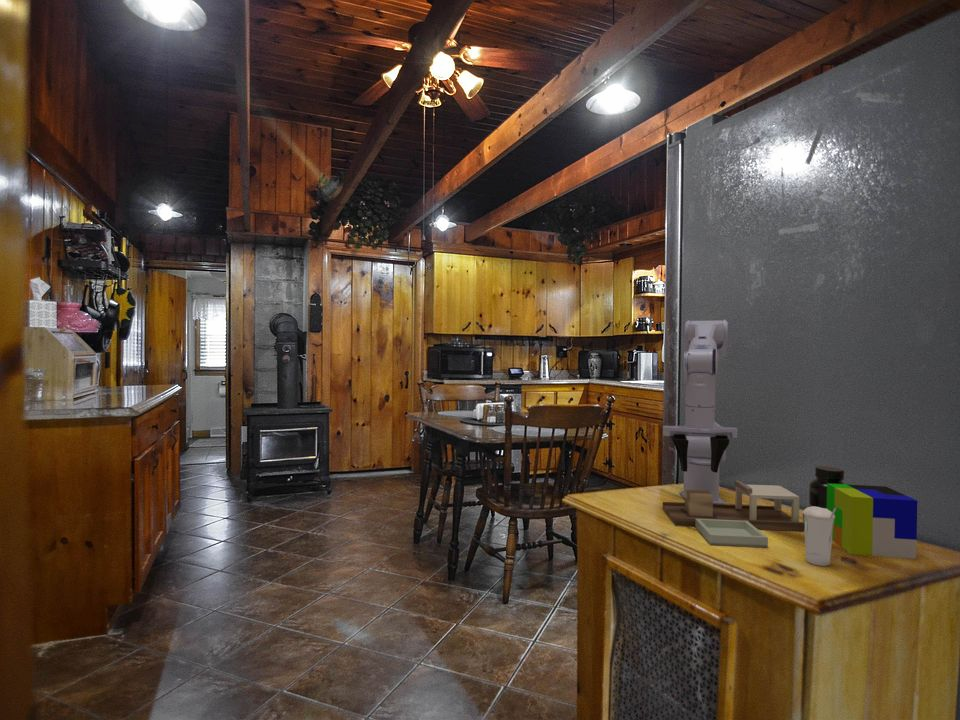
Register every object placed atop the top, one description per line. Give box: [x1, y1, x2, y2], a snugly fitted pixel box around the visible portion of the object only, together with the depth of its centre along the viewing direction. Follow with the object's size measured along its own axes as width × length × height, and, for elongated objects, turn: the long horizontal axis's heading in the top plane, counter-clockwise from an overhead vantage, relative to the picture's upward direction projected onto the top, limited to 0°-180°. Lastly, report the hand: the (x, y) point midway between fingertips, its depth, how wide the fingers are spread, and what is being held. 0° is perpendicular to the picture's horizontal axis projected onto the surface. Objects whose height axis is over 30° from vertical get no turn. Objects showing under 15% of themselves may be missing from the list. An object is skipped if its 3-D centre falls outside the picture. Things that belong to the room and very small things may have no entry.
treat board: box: [662, 501, 804, 532], centre depth 113 cm, size 12×24×2 cm, turn 83°
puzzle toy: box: [827, 483, 918, 560], centre depth 98 cm, size 10×10×10 cm
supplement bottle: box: [807, 465, 846, 509], centre depth 108 cm, size 7×7×12 cm
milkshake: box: [802, 506, 836, 567], centre depth 90 cm, size 4×5×10 cm
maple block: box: [684, 489, 713, 517], centre depth 114 cm, size 4×4×4 cm
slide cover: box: [734, 480, 800, 522], centre depth 113 cm, size 9×10×6 cm
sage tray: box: [694, 519, 769, 549], centre depth 102 cm, size 10×10×2 cm
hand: (699, 471), depth 114 cm, fingers open, 5 cm apart
